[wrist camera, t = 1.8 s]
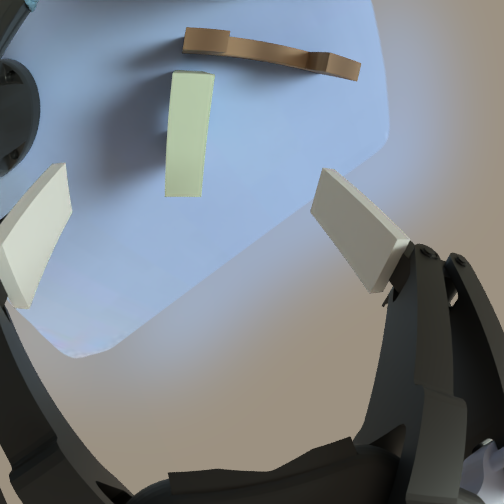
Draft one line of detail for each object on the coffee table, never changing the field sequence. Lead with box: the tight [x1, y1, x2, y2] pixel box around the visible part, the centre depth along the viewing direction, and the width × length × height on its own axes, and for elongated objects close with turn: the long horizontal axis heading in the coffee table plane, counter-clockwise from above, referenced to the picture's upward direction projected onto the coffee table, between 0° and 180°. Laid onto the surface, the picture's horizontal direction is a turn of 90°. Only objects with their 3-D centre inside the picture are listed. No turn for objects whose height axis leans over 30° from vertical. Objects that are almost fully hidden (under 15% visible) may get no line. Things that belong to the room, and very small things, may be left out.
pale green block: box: [165, 70, 215, 197], centre depth 24 cm, size 10×3×11 cm, turn 171°
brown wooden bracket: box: [182, 27, 361, 81], centre depth 22 cm, size 16×2×8 cm, turn 81°
